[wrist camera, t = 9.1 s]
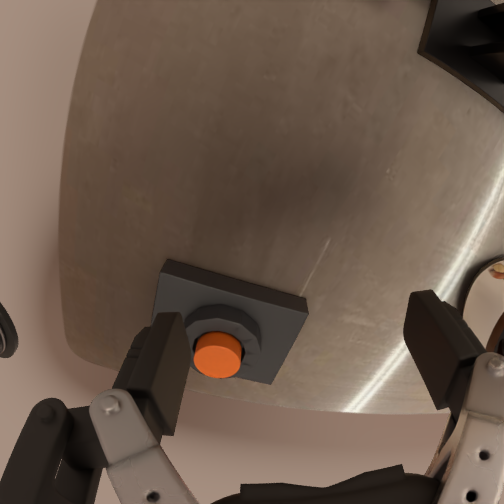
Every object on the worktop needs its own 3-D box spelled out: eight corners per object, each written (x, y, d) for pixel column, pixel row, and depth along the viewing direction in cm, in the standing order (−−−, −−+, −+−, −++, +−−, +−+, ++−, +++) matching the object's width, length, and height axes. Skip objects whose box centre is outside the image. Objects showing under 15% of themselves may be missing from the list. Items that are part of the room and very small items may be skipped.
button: (193, 356, 25) (189, 371, 24) (202, 325, 24) (198, 340, 22) (234, 367, 26) (233, 382, 24) (247, 337, 24) (246, 353, 23)
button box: (153, 337, 29) (141, 365, 26) (167, 258, 26) (153, 283, 22) (270, 368, 31) (271, 399, 27) (306, 298, 27) (311, 328, 23)
